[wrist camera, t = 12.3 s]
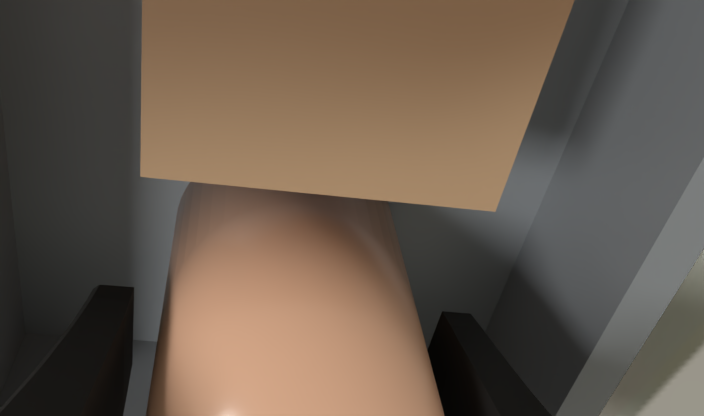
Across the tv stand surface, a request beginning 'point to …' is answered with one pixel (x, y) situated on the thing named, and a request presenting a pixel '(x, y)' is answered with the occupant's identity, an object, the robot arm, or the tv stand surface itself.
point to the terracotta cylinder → (288, 310)
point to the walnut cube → (345, 94)
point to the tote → (409, 219)
